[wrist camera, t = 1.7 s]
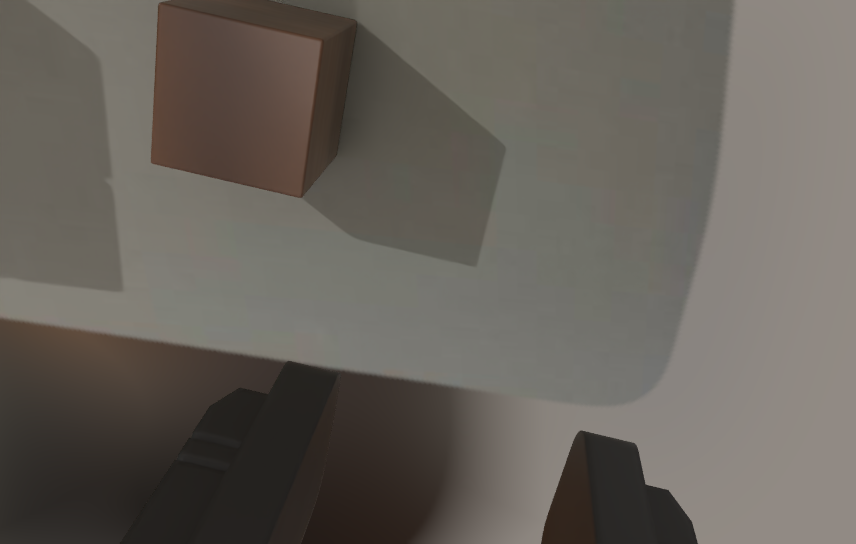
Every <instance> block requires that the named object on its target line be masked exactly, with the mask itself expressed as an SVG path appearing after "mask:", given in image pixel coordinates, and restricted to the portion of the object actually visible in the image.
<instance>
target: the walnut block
mask: <svg viewBox="0 0 856 544" xmlns="http://www.w3.org/2000/svg"><path fill="white" fill-rule="evenodd" d="M356 27H357V21H355V20H352V19H348V18H344V17H339V16H335V15H330V14H326V13H322V12H317V11H313V10H308V9H304V8H299V7H295V6H291V5H286V4H282V3H277V2H273V1H269V0H170V1H166V2H161V3H159V5H158V24H157V45H156V66H155V86H154V107H153V128H152V148H151V163H153V164H156V165H161V166H165V167H169V168H174V169H178V170H182V171H187V172H191V173H195V174H200V175H204V176H208V177H212V178H217V179H221V180H225V181H230V182H234V183H238V184H243V185H247V186H251V187H256V188H260V189H264V190H269V191H273V192H277V193H281V194H286V195H290V196H294V197H299V198H301V197H303V196H304V194H305V193H306V192H307V191H308V189H309V188H310V187H311V186H312V185H313V183H314V182H315V181H316V180H317V178H318V177H319V176H320V175H321V174H322V172H323V171H324V170H325V169H326V167H327V166H328V165H329V164H330V163H331V161H332V160H333V159H334V158H335V157H336V155H337V150H338V143H339V137H340V130H341V124H342V117H343V111H344V104H345V98H346V92H347V85H348V79H349V72H350V66H351V59H352V53H353V46H354V40H355V33H356Z"/></svg>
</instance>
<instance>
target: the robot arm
mask: <svg viewBox="0 0 856 544" xmlns="http://www.w3.org/2000/svg"><path fill="white" fill-rule="evenodd" d="M340 376H341V374H340V373H338V372H334V371H330V370H326V369H321V368H317V367H313V366H309V365H304V364H300V363H296V362H292V361H287V362H286V364H285V365H284V367H283V369H282V371H281V372H280V374H279V376H278V378H277V380H276V381H275V383H274V385H273V387H272V389H271V391H270V392H269V394H264V393H260V392H256V391H252V390H247V389H243V388H238V389H237V390H235V391H234V392H232V393H230V394H229V395H227V396H225V397H224V398H222V399H221V400H219V401H218V402H216V403H214V404H213V405H211V406H210V407H209V408H208V410H207V411H206V413H205V414H204V416H203V418H202V419H201V421H200V422H199V424H198V425H197V427H196V428H195V430H194V431H193V434H192V437H191V438H189V439H188V440H187V442H186V443H185V445H184V446H183V448H182V450H181V451H180V453H179V454H178V458H177V460H174V462H173V463H172V465H171V466H170V468H169V469H168V471H167V472H166V474H165V475H164V477H163V478H162V480H161V482H160V483H159V485H158V486H157V488H156V489H155V491H154V492H153V494H152V495H151V497H150V498H149V500H148V501H147V503H146V504H145V506H144V507H143V509H142V510H141V512H140V514H139V515H138V517H137V518H136V520H135V521H134V523H133V524H132V526H131V527H130V529H129V530H128V532H127V533H126V535H125V537H124V538H123V539H122V541H121V542H120V544H301V541H302V538H303V535H304V533H305V530H306V528H307V525H308V522H309V519H310V517H311V514H312V511H313V508H314V505H315V502H316V499H317V496H318V492H319V488H320V485H321V481H322V477H323V473H324V468H325V464H326V458H327V452H328V447H329V442H330V436H331V431H332V425H333V420H334V414H335V409H336V403H337V397H338V392H339V386H340V378H341V377H340ZM541 544H698V543H697V539H696V535H695V532H694V528H693V524H692V522H691V520H690V519H689V517H688V516H687V515H686V514H685V512H684V511H683V509H682V508H681V507H680V505H679V504H678V503H677V501H676V500H675V498H674V497H673V496H672V495H671V493H670V492H669V490H665V489H661V488H657V487H653V486H648V485H645V480H644V475H643V471H642V466H641V461H640V457H639V452H638V448H637V446H636V445H635V443H631V442H627V441H623V440H619V439H614V438H610V437H606V436H602V435H598V434H594V433H589V432H585V431H580V432H578V434H577V435H576V437H575V439H574V441H573V444H572V447H571V450H570V452H569V455H568V458H567V461H566V464H565V467H564V469H563V472H562V476H561V478H560V481H559V484H558V487H557V490H556V493H555V496H554V498H553V501H552V504H551V507H550V510H549V513H548V516H547V519H546V523H545V526H544V531H543V536H542V542H541Z"/></svg>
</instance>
